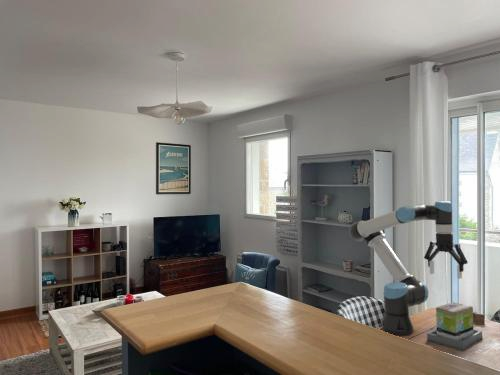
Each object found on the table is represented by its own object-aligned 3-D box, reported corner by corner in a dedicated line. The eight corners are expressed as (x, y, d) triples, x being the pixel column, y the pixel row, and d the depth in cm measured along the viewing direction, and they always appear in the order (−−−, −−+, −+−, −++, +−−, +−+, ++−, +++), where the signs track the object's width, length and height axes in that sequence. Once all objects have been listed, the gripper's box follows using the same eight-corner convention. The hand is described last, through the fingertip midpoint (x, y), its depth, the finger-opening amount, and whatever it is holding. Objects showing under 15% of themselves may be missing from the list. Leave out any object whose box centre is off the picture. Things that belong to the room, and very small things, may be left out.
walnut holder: (443, 327, 196) (443, 317, 196) (460, 318, 207) (460, 309, 208) (468, 333, 186) (467, 323, 186) (484, 324, 198) (484, 314, 198)
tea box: (457, 344, 171) (455, 312, 171) (436, 338, 179) (434, 306, 180) (474, 337, 179) (473, 305, 179) (453, 331, 187) (452, 301, 188)
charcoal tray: (427, 340, 179) (426, 333, 179) (448, 329, 192) (447, 322, 192) (462, 350, 167) (462, 342, 167) (482, 338, 179) (482, 331, 180)
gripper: (474, 234, 177) (476, 279, 177) (424, 230, 198) (425, 270, 198) (467, 235, 173) (468, 281, 173) (416, 231, 193) (417, 272, 193)
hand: (445, 275), depth 185 cm, fingers open, 13 cm apart
